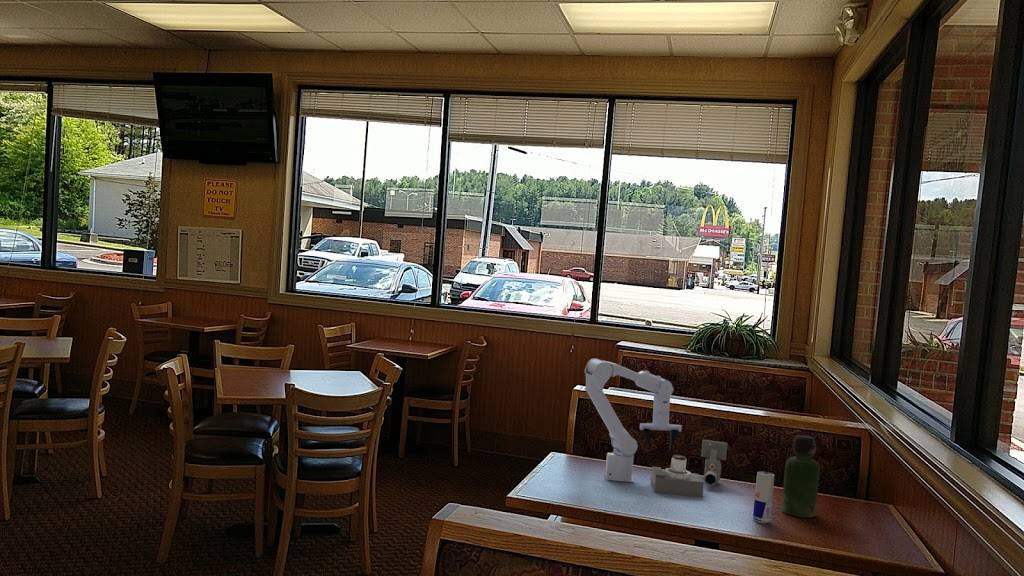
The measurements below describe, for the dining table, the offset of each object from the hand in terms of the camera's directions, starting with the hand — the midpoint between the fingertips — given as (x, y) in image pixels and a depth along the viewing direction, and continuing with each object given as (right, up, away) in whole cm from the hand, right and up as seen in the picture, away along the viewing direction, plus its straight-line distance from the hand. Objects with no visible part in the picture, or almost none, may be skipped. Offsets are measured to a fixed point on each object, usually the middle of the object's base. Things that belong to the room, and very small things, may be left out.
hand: (659, 450), depth 289 cm
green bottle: (+39, -15, -28) cm, 51 cm away
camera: (+18, -12, -1) cm, 22 cm away
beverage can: (+24, -14, -40) cm, 49 cm away
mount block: (+3, -11, -12) cm, 17 cm away
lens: (+4, -6, -13) cm, 15 cm away
